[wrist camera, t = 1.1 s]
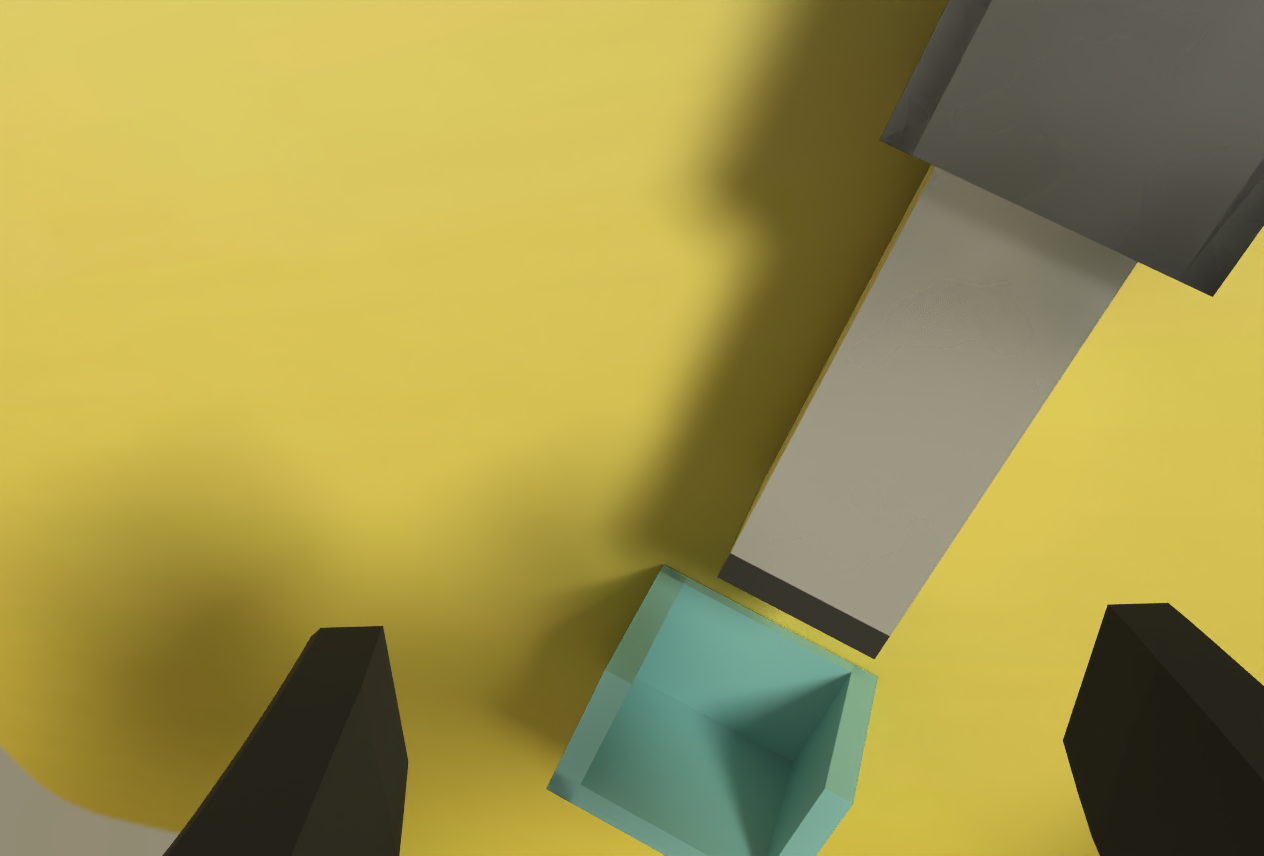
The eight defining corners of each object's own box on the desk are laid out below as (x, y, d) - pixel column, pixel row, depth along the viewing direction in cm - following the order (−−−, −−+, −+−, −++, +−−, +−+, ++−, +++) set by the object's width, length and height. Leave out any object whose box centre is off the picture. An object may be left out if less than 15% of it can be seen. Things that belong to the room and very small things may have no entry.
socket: (877, 677, 25) (852, 804, 21) (807, 782, 27) (773, 915, 23) (663, 564, 25) (605, 669, 22) (608, 675, 27) (546, 788, 24)
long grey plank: (1344, -141, 16) (1411, -152, 13) (892, 569, 23) (874, 659, 20) (1138, -228, 16) (1161, -257, 14) (754, 498, 23) (717, 577, 20)
